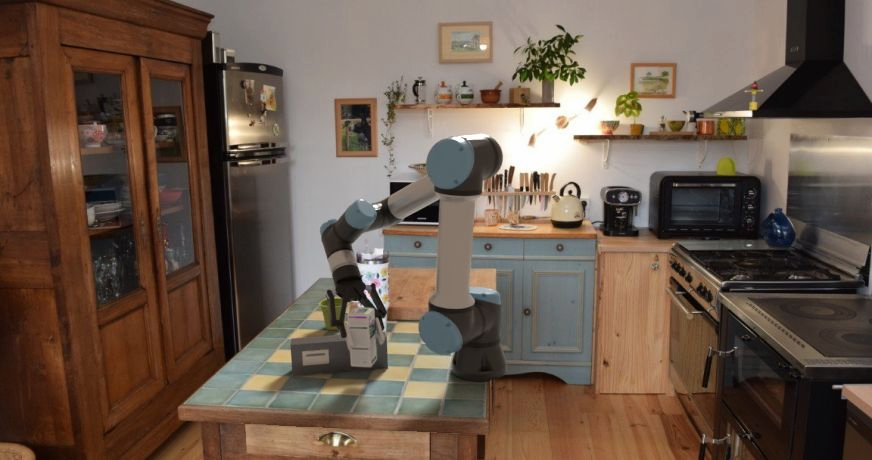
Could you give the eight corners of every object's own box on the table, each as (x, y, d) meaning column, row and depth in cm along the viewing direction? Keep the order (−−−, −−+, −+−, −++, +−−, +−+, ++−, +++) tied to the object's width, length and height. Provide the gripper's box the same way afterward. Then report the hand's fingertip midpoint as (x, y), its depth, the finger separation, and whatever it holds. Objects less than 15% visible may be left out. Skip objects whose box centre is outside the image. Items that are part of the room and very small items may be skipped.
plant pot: (335, 334, 216) (333, 308, 215) (314, 328, 222) (313, 303, 220) (355, 326, 224) (354, 301, 222) (335, 321, 229) (333, 296, 227)
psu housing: (386, 361, 194) (385, 331, 192) (388, 369, 188) (387, 338, 187) (293, 369, 190) (291, 338, 188) (292, 377, 184) (290, 345, 183)
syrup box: (371, 367, 176) (369, 314, 173) (349, 366, 177) (346, 313, 174) (377, 359, 181) (375, 307, 179) (356, 358, 183) (353, 306, 180)
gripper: (377, 272, 193) (400, 344, 182) (306, 282, 185) (325, 358, 174) (383, 258, 188) (407, 331, 176) (309, 268, 179) (330, 345, 168)
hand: (367, 344), depth 175 cm, fingers closed on syrup box, 8 cm apart
